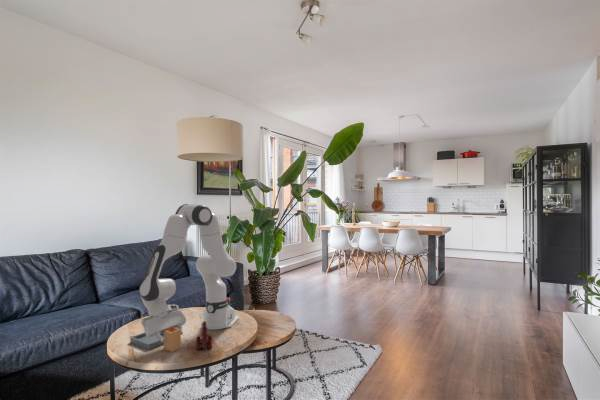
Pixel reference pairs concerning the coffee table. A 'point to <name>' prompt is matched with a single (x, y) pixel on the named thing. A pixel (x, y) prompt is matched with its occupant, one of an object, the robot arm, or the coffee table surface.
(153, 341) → the tray
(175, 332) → the box
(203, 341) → the toy fire truck
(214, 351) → the coffee table surface
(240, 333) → the coffee table surface
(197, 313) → the coffee table surface
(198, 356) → the coffee table surface
